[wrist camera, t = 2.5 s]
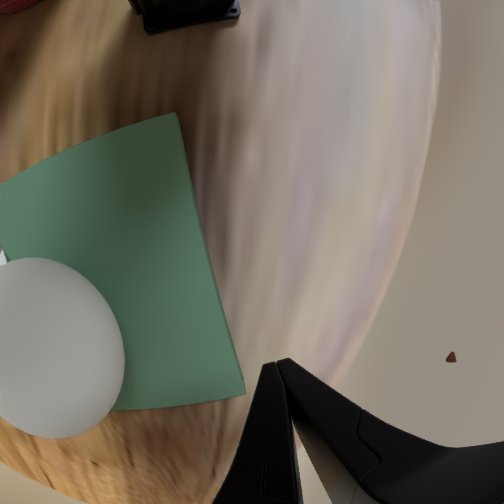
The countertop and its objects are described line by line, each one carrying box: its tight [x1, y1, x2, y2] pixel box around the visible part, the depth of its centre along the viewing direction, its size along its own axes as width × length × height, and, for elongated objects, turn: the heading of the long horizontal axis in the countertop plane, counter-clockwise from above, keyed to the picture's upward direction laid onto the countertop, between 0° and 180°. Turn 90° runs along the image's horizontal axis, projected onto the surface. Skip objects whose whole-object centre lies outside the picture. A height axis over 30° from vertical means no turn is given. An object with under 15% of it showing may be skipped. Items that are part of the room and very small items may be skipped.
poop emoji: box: [446, 352, 457, 363], centre depth 165 cm, size 10×8×9 cm
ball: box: [0, 257, 125, 439], centre depth 11 cm, size 10×10×10 cm
